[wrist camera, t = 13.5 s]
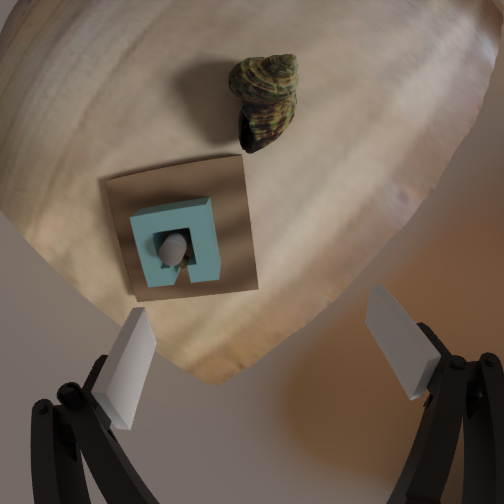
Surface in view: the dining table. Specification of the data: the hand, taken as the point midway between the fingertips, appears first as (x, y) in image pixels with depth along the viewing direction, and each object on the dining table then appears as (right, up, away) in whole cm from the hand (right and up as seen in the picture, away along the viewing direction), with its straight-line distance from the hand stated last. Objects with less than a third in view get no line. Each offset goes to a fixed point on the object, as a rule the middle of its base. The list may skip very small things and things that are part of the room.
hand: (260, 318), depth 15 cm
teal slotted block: (-11, +6, +24) cm, 27 cm away
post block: (-11, +7, +26) cm, 29 cm away
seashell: (0, +24, +20) cm, 31 cm away
